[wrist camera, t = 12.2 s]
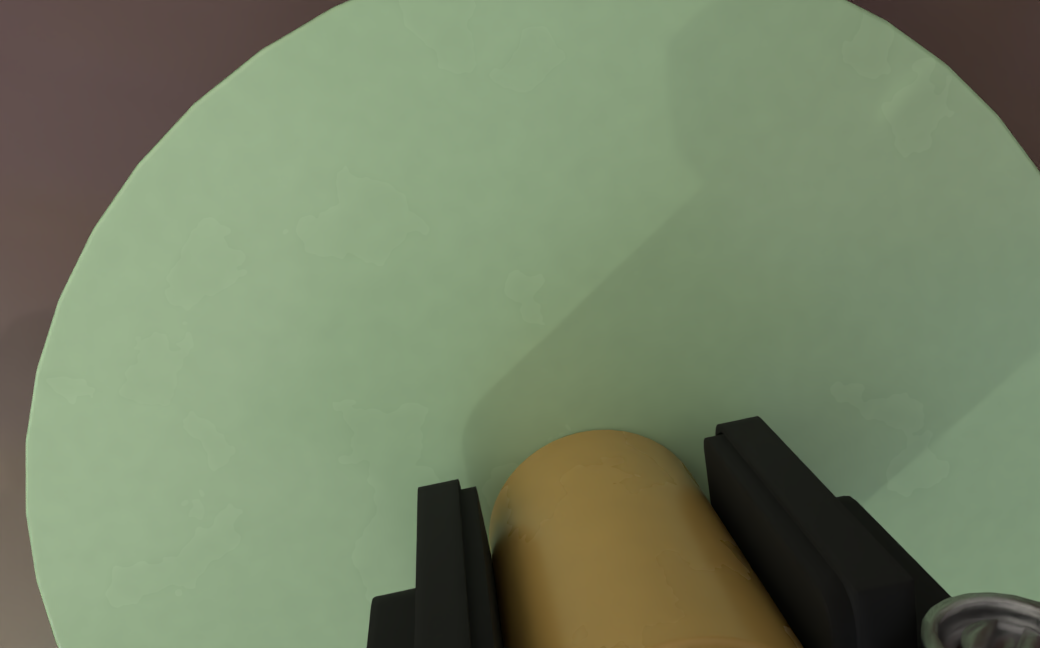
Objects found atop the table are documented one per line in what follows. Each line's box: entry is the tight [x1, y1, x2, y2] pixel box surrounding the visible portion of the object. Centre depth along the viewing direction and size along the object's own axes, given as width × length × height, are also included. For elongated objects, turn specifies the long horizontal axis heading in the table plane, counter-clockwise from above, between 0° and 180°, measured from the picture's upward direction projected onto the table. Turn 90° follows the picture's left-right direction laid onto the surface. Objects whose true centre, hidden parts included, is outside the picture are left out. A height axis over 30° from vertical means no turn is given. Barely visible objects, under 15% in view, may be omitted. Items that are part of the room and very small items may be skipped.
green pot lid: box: [26, 0, 1040, 648], centre depth 11 cm, size 15×15×6 cm
